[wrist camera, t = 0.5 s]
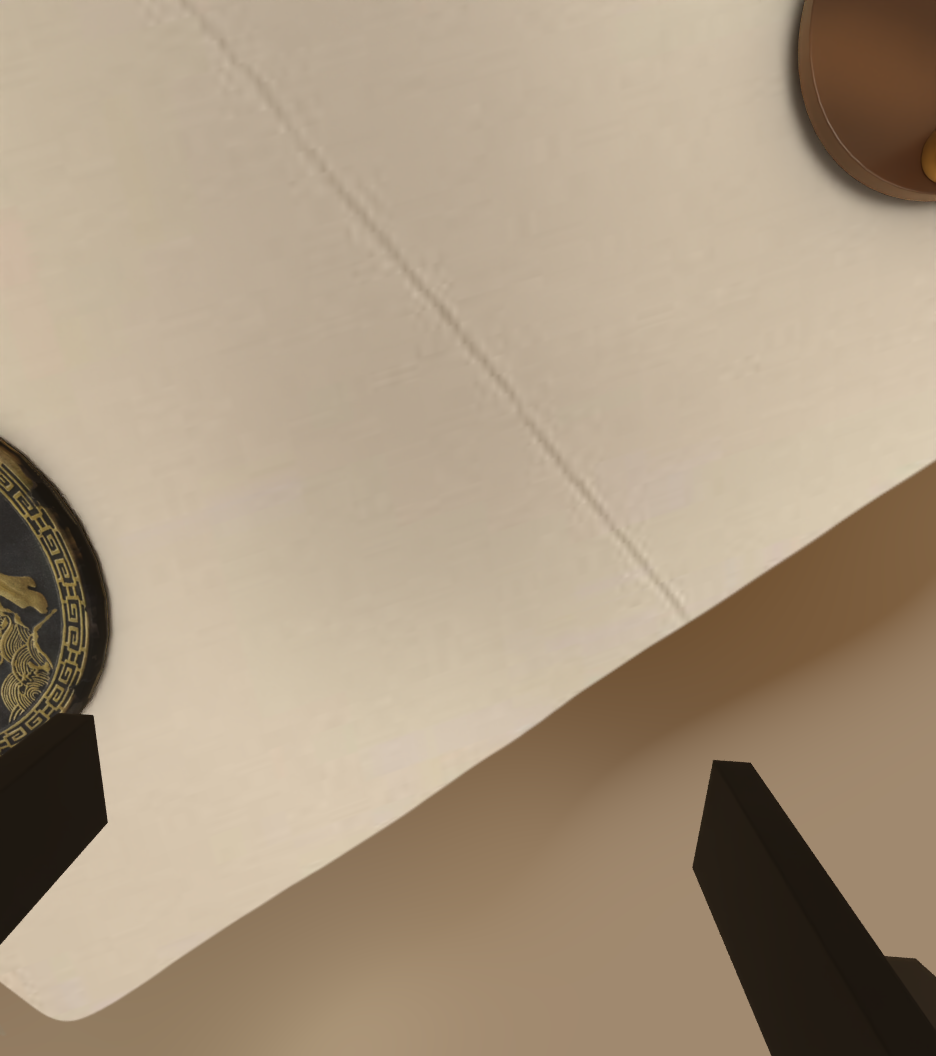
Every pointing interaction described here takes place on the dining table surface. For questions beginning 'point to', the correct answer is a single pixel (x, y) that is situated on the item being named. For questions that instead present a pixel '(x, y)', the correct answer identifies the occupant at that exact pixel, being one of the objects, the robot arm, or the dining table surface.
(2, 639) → the decorative plate
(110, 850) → the dining table surface
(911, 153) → the turntable
